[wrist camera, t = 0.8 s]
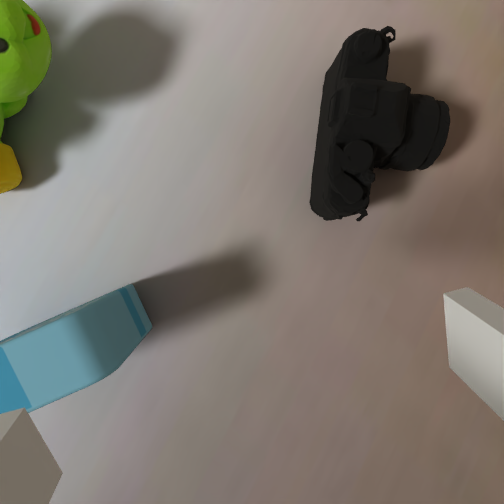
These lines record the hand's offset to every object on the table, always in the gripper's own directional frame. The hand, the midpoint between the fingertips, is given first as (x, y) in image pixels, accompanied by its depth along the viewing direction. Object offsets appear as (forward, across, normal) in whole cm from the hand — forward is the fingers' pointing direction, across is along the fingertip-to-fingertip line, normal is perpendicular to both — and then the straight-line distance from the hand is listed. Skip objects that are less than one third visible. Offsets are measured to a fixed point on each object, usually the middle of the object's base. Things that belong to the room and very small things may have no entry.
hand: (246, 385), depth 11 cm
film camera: (+25, -14, -3) cm, 29 cm away
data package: (+22, +15, +6) cm, 27 cm away
